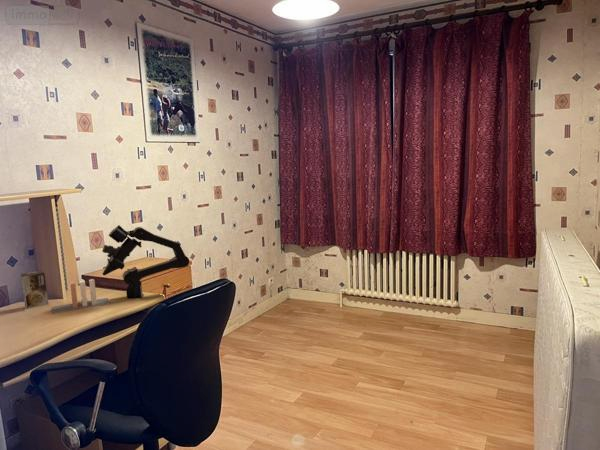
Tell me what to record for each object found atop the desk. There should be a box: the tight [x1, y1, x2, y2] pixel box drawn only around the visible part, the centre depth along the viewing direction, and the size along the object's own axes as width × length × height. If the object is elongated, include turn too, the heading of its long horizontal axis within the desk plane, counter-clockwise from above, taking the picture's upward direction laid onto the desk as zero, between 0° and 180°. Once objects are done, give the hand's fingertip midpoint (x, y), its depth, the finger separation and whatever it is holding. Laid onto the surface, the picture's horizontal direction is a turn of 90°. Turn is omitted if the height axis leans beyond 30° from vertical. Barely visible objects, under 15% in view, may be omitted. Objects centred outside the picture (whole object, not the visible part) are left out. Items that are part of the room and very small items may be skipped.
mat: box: [51, 297, 111, 314], centre depth 207 cm, size 24×11×1 cm, turn 119°
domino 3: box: [88, 278, 98, 305], centre depth 208 cm, size 2×5×11 cm, turn 29°
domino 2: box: [79, 279, 88, 306], centre depth 207 cm, size 2×5×11 cm, turn 29°
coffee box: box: [20, 270, 50, 310], centre depth 208 cm, size 9×6×16 cm
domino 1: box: [69, 281, 78, 308], centre depth 205 cm, size 2×5×11 cm, turn 29°
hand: (103, 274), depth 210 cm, fingers closed
